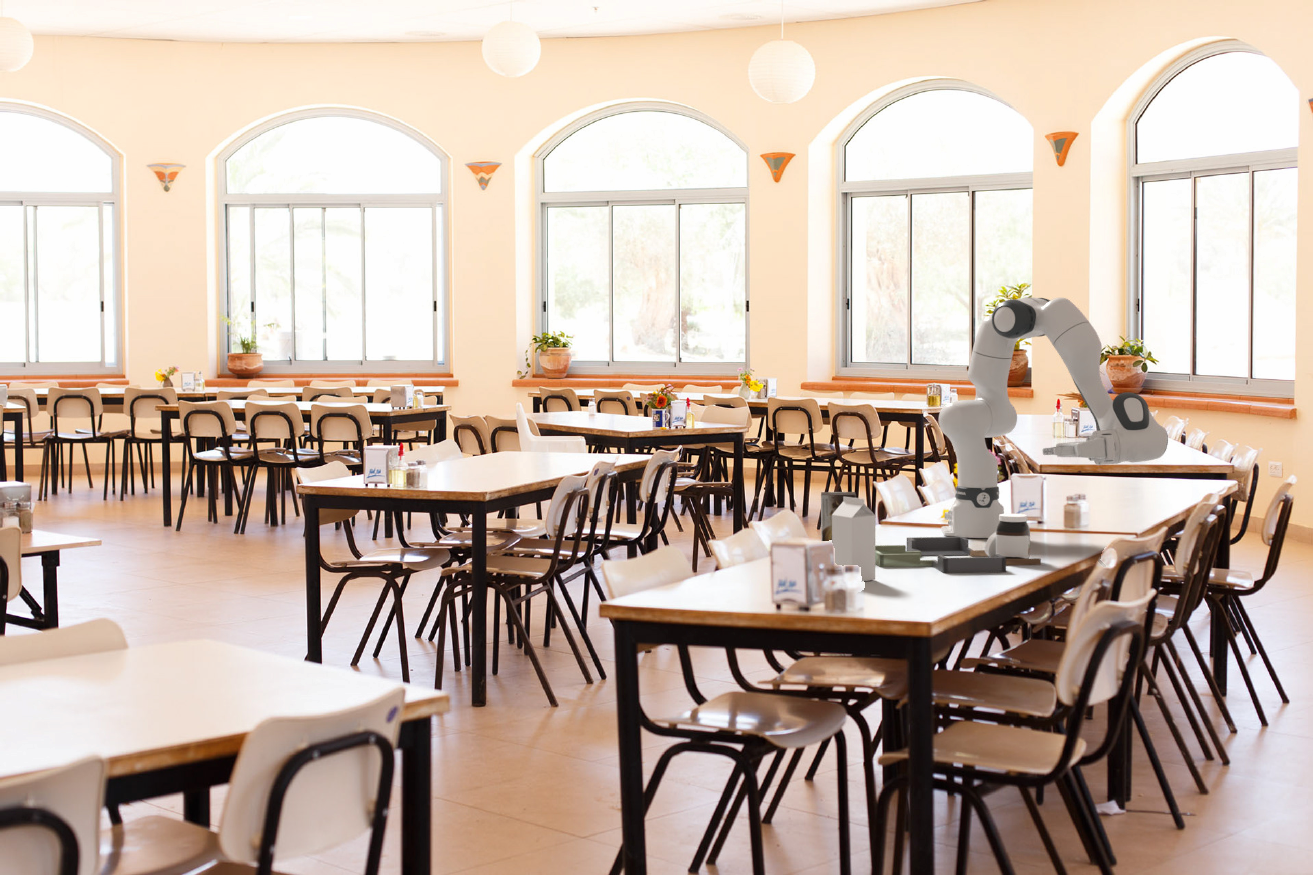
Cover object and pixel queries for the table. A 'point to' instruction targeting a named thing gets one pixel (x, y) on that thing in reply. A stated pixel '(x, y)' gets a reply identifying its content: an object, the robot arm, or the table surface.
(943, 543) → the grey open tray
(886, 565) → the lane
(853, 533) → the milk carton
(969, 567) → the dark grey shallow tray
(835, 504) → the coffee box
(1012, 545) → the spread jar
